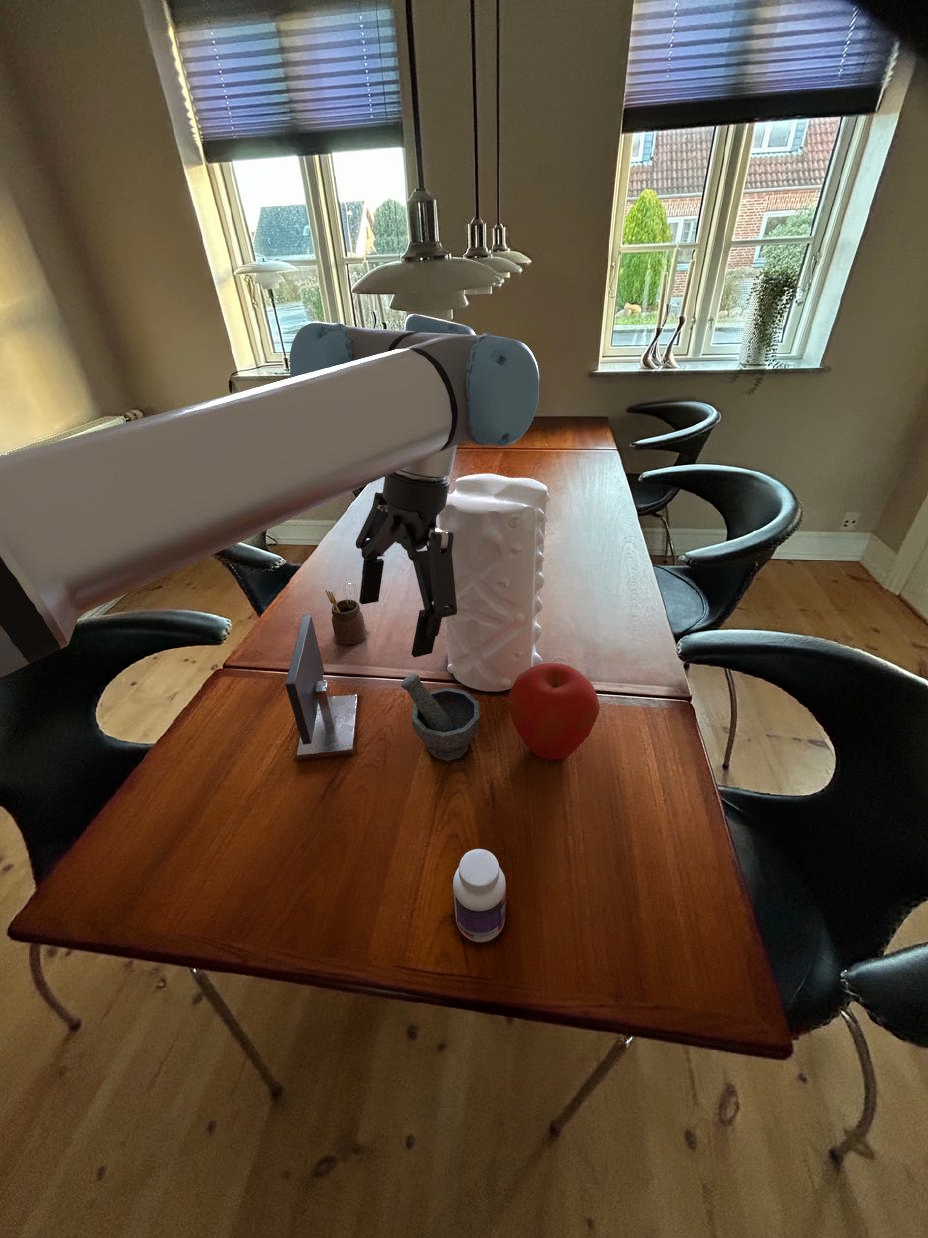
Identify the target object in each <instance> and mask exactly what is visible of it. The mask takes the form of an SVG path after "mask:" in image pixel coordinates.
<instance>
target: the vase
mask: <svg viewBox="0 0 928 1238" xmlns="http://www.w3.org/2000/svg"><path fill="white" fill-rule="evenodd" d="M454 485H455V489H454V491H453V492H452V493H448V496H447V501H446V506H445V508H444V509H443V510H442V511H441V512H440V513H439V514H438V524H439V529H440V530H442V531H449V530H450V531H452V532H453V535H454V537H453V545H452V560H453V571H454V582H455V593H456V604H457V614H456V615H452V616H448V617H444V620H445V633H444V637H445V638H446V650H447V668H446V671H447V672H448V673H450V674H453V677H454V679H455V680H456V681H458V683H460V684H461V685H464V686H466V687H468V688H471V689H475V690H478V691H481V692H482V691H483V692H504V691H507V690H511V689H512V687H513V685H514V683H515V681H516V679H517V677H518V675H520V674H521V673H522V672H524V671H525V670H526V669H528V668H530V667H533V666H536V665H540V664H543V658H542V657H541V655H540V654H538V653H537V649H536V643H537V641H539V640H540V638H541V636H542V628H541V626H540V624H538V615H539V614H540V613H541V612H542V610H543V607H544V604H543V601H542V600H541V598H540V597H541V589H543V587H544V585H545V576H544V575H543V566H544V561H545V557H544V553H545V538H546V537H545V534H546V523H547V522H548V520H549V517H548V515H547V504H548V503H549V501H550V499H551V496H550V494H549V493H548V488H547V485H545V484H544V483H542V482H540V481H538V480H536V479H534V478H530V477H507V476H504V475H501V474H500V475H499V474H495V473H478V474H471V475H465V476H461V477H458V478H457V479H456V480H455V482H454Z"/></svg>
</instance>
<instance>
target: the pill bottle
mask: <svg viewBox="0 0 928 1238" xmlns="http://www.w3.org/2000/svg"><path fill="white" fill-rule="evenodd" d="M506 882H507V881H506V876H505V874H504V872H503V870H502V869H501V867H500V864H499V861H498V859H497V857H496V856H495V855H494V854H493V853H492V852H491V851H489V850H487V849H483V848H475V849H471V850H468V851H467V852H466V853H465V854H464V855H463V856H462V857H461V859H460V861H459V865H458V867H457V869H456V871H455V874H454V876H453V881H452V889H453V898H454V899H453V901H454V902H453V903H454V912H455V913H454V914H455V921H456V926H457V928H458V929H459V931H460V932H461V934H462V935H463V936H464V937H465V938H466V939H468V940H470V941H472V942H475V943H485V942H490V941H491V940H493V939H495V938H496V937H498V935H499V934H500V933H501V932H502V930H503V928H504V925H505V922H506V921H505V920H506V898H507V896H506V895H507V894H506V893H507V891H506V890H507V889H506V888H507V883H506Z"/></svg>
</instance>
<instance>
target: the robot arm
mask: <svg viewBox="0 0 928 1238" xmlns="http://www.w3.org/2000/svg"><path fill="white" fill-rule="evenodd" d="M403 327H404V328H403V330H401V329H386V328H369V327H358V326H352V325H347V324H344V323H342V322H335V321H334V322H332V323H331V322H324V321H323V322H322V321H311V322H308V323H306V324H304V325H303V326H301V327H300V329H298V331H297V332H296V334H295V336H294V338H293V340H292V343H291V346H290V351H289V358H288V360H289V378H286V379H282V380H279V381H276V382H271V383H268V384H265V385H261V386H260V385H259V386H257V387H253V388H249V389H245V390H242V391H238V392H235V393H231V394H227V395H222V396H219V397H215V398H213V399H209V400H205V401H201V402H197V403H193V404H190V405H186V406H183V407H178V408H175V409H172V410H171V409H170V410H167V411H164V412H160V413H156V414H152V415H149V416H145V417H142V418H138V419H134V420H130V421H127V422H123V423H119V424H115V425H111V426H108V427H104V428H101V429H97V430H93V431H89V432H86V433H82V434H79V435H74V436H71V437H67V438H63V439H59V440H56V441H53V442H52V441H51V442H48V443H44V444H41V445H37V446H33V447H30V448H26V449H21V450H18V451H15V452H11V453H7V454H4V455H0V679H1V678H3V677H5V676H8V675H9V674H12V673H14V672H16V671H18V670H21V669H22V668H24V667H26V666H28V665H30V664H32V663H34V662H36V661H38V660H41V659H42V658H45V657H47V656H49V655H51V654H53V653H55V652H57V651H59V650H62V649H64V648H65V647H68V646H69V644H70V642H71V639H72V636H73V633H74V630H75V628H76V626H77V623H78V620H79V619H80V618H81V617H83V616H84V615H85V614H86V613H88V612H89V611H92V610H95V609H96V608H99V607H101V606H103V605H105V604H107V603H108V604H109V602H112V601H115V600H116V599H119V598H121V597H123V596H125V595H127V594H129V593H132V592H134V591H137V590H138V589H141V588H143V587H145V586H148V585H149V584H152V583H154V582H156V581H158V580H160V579H163V578H165V577H167V576H169V575H171V574H174V573H175V572H178V571H180V570H183V569H184V568H187V567H189V566H191V565H194V564H195V563H197V562H200V561H202V560H205V559H207V558H208V557H211V556H213V555H216V554H218V553H220V552H222V551H224V550H226V549H229V548H231V547H233V546H235V545H238V544H240V543H242V542H245V541H246V540H249V539H250V538H253V537H255V536H257V535H260V534H262V533H264V532H267V531H268V530H270V529H273V528H275V527H278V526H280V525H281V524H284V523H286V522H288V521H290V520H292V519H295V518H297V517H299V516H301V515H303V514H305V513H307V512H311V511H312V510H314V509H317V508H319V507H321V506H323V505H325V504H328V503H329V502H332V501H334V500H337V499H339V498H341V497H343V496H346V495H347V494H350V493H352V492H355V491H356V490H358V489H360V488H363V487H366V486H367V485H369V484H372V483H374V482H375V481H378V480H381V479H382V478H384V480H383V487H382V491H376V492H375V493H374V496H373V500H372V506H371V508H370V511H369V512H368V515H367V517H366V519H365V520H364V523H363V525H362V528H361V530H360V532H359V533H358V536H357V538H356V540H355V547H356V549H357V550H359V549H360V550H361V557H362V559H363V561H362V571H361V582H360V591H359V597H358V598H359V599H358V603H359V604H360V605H367V604H372V603H379V599H380V593H381V587H382V580H383V571H384V565H385V560H384V559H383V558H384V557H386V555H385V552H387V551H388V550H389V549H390V548H391V547H392V546H393V544H395V543H396V544H399V545H400V546H401V547H402V548H403V550H405V551H406V553H407V557H408V559H409V560H410V561H411V562H412V564H413V567H414V571H415V576H416V579H417V584H418V588H419V592H420V596H421V601H422V605H423V608H424V609H419V612H418V615H417V622H416V628H415V631H414V632H415V633H414V637H413V643H412V647H411V654H410V655H411V656H412V657H413V659H414V658H420V657H423V656H427V655H430V654H433V650H434V646H435V641H436V637H438V635H439V634H440V630H441V625H442V621H443V618H445V617H448V616H452V615H456V614H457V604H456V593H455V582H454V571H453V560H452V545H453V537H454V535H453V532H452V531H450V530H449V531H442V530H440V528H438V525H437V517H438V516H439V513H440V512H441V511H442V510H443V509H444V508H445V506H446V501H447V496H448V494H449V491H450V485H451V480H450V479H449V476H450V475H451V474H452V473H453V468H454V463H455V459H456V452H457V447H458V445H460V444H462V443H471V442H472V443H474V444H476V445H478V446H481V447H486V446H495V447H506V446H510V445H512V444H514V443H516V442H518V441H519V440H520V439H521V438H522V437H523V436H524V435H525V433H526V432H527V431H528V429H529V428H530V427H531V425H532V423H533V420H534V417H535V415H536V411H537V409H538V405H539V399H540V391H539V390H540V388H539V387H540V372H539V367H538V362H537V360H536V358H535V356H534V354H533V352H532V351H531V349H530V348H529V347H528V346H527V345H526V344H525V343H523V342H522V341H521V340H519V339H515V338H509V337H504V336H497V335H492V334H491V333H490V332H483V333H481V334H476V333H475V331H474V330H473V328H472V327H470V326H468V325H465V324H462V323H458V322H453V321H450V320H446V319H441V318H436V317H434V316H433V317H432V316H428V315H423V314H417V313H411V314H409V315H408V316H407V317H406V318H405V323H404V326H403ZM425 547H426V550H423V549H424V548H425ZM381 557H383V558H381Z"/></svg>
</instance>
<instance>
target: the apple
mask: <svg viewBox="0 0 928 1238" xmlns="http://www.w3.org/2000/svg"><path fill="white" fill-rule="evenodd" d="M506 697H507V703H508V707H509V712H510V716H511V721H512V724H513V727H514V729H515V731H516V732H517V734H518V736H519V737H520V738H521V740H522V742H523V744H524V745H525V746H526V748H527V750H529V751H530V752H531V753H533V754H534V755H536V756H538V757H540V758H543V759H546V760H562V759H564V758H568V757H570V756H571V755H573V753H575V751H576V750H578V748H579V747H580V746H581V745H582V744H583V742H585V740H586V739H587V738H588V737H589V736H590V734H591V732H592V730H593V727H594V725H595V724H596V721H597V718H598V716H599V713H600V710H601V705H600V702H599V699H598V695H597V692H596V690H595V687H594V685H593V683H592V682H591V681H590V680H589V679H588V678H587V677H586V676H585V675H584V674H583V673H582V672H580V671H578V670H577V669H575V668H573V666H570V665H568V664H563V663H559V662H543V663H542V664H540V665H536V666H533V667H530V668H528V669H526V670H525V671H524V672H522V673H521V674H520V675H518V677H517V679H516V681H515V683H514V685H513V687H512V688H511V689H510V691H509V693H508V695H507V696H506Z"/></svg>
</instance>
